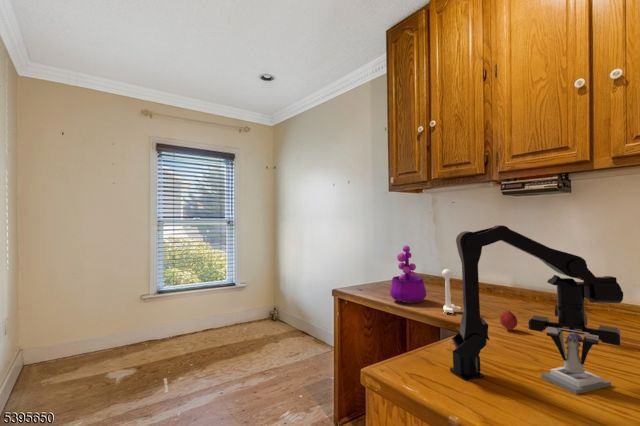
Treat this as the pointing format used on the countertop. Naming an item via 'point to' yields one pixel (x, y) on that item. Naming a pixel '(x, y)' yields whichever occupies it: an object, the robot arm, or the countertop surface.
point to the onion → (508, 320)
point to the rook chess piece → (573, 357)
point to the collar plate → (575, 380)
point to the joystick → (448, 293)
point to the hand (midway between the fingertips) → (573, 362)
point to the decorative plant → (407, 281)
